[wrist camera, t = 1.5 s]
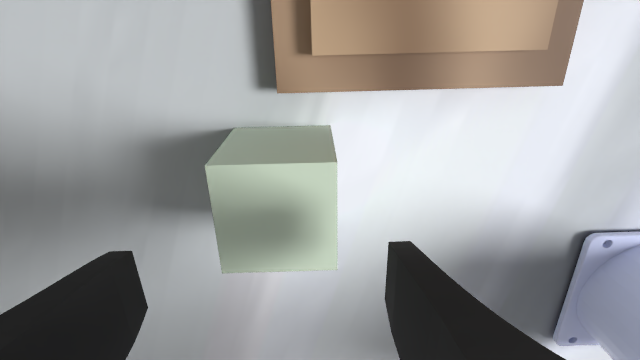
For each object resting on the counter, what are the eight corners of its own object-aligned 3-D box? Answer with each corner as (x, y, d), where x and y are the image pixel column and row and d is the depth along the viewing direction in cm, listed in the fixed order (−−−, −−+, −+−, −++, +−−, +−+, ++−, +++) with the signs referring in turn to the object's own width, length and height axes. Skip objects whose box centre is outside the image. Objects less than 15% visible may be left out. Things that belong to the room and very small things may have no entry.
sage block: (330, 125, 16) (337, 162, 12) (331, 209, 18) (337, 269, 14) (234, 127, 16) (204, 165, 12) (244, 211, 18) (222, 273, 14)
